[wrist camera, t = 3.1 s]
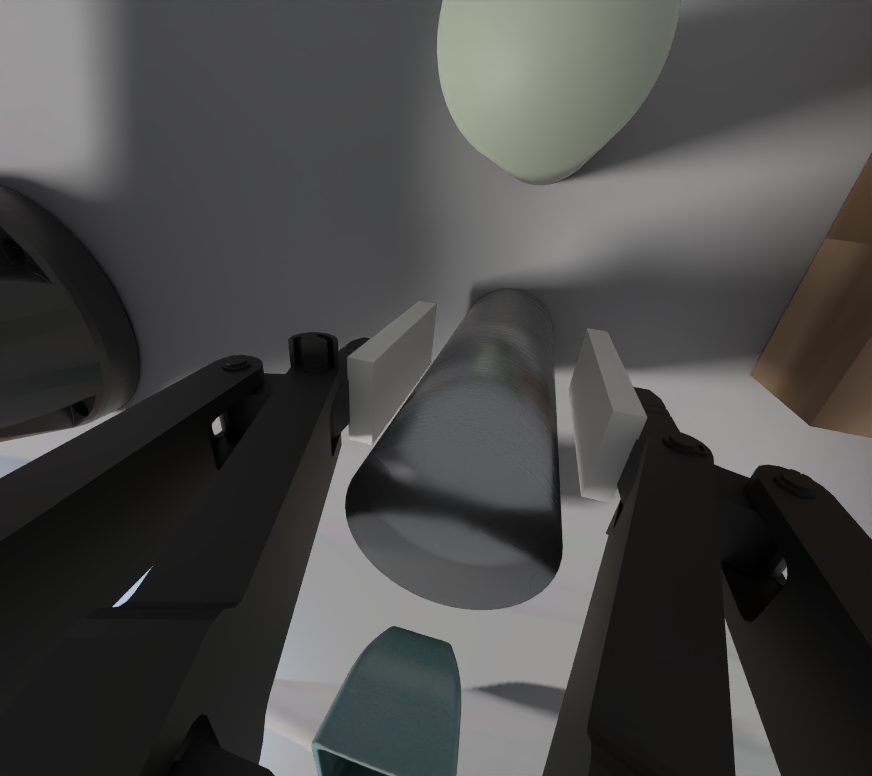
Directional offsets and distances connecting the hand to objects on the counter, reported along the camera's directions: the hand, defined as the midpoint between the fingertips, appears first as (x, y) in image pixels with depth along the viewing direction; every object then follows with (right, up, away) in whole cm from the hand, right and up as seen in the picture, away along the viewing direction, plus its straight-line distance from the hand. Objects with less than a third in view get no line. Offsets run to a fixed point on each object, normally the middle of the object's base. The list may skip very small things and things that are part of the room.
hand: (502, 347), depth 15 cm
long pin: (0, +1, +2) cm, 2 cm away
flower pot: (-4, -23, +15) cm, 28 cm away
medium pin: (+1, +8, -2) cm, 8 cm away
